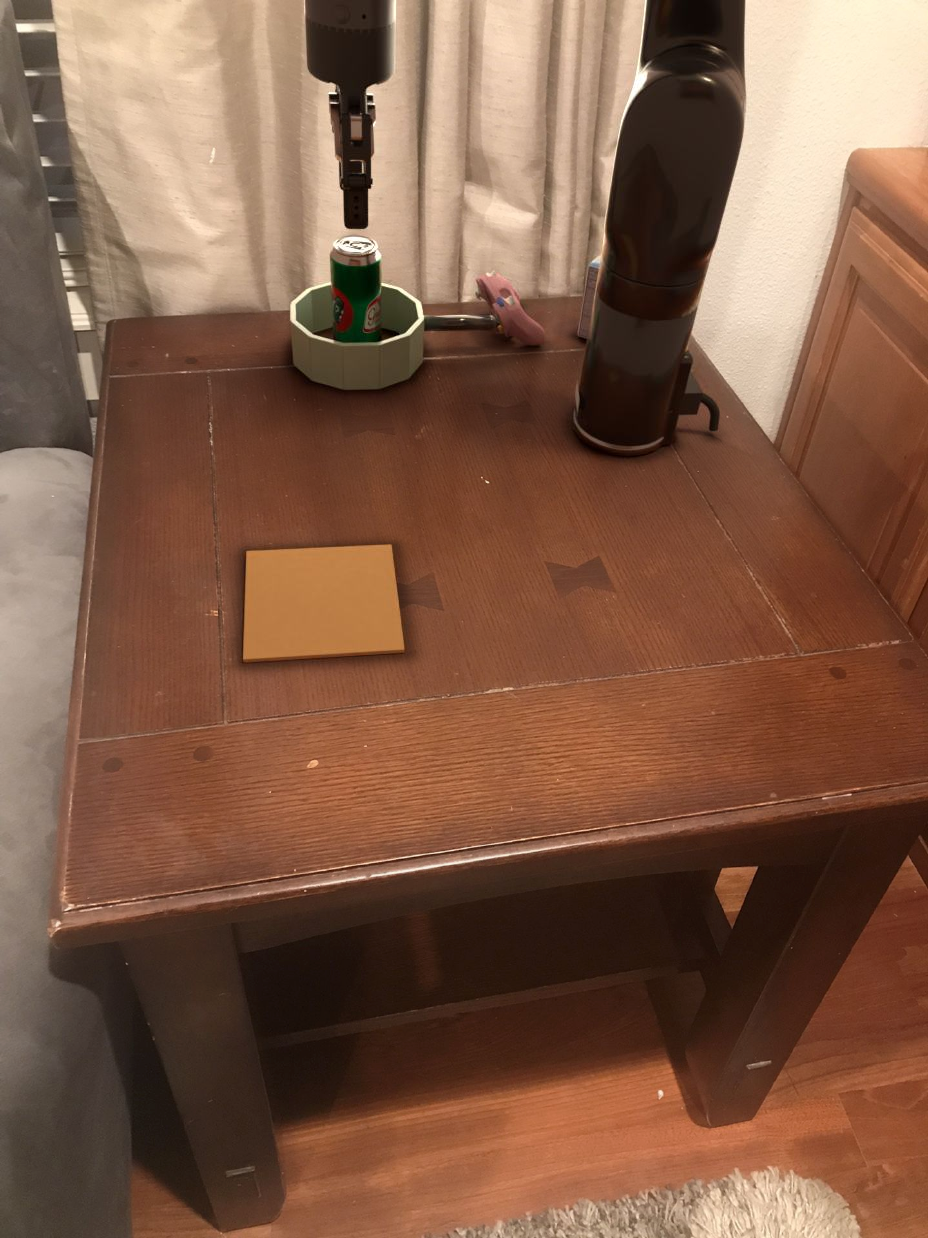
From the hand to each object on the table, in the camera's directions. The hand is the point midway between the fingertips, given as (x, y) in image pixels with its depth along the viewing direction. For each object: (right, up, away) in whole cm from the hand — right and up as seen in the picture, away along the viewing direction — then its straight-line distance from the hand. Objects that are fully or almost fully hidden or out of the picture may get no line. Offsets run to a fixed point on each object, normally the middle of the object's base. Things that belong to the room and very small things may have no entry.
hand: (353, 207), depth 90 cm
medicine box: (+28, -8, +17) cm, 33 cm away
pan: (+3, -11, +12) cm, 16 cm away
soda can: (-1, -11, +11) cm, 16 cm away
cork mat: (-1, -38, -15) cm, 40 cm away
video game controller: (+15, -6, +17) cm, 24 cm away
